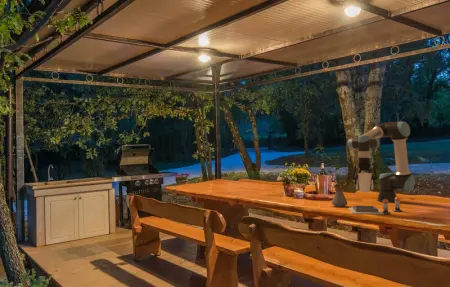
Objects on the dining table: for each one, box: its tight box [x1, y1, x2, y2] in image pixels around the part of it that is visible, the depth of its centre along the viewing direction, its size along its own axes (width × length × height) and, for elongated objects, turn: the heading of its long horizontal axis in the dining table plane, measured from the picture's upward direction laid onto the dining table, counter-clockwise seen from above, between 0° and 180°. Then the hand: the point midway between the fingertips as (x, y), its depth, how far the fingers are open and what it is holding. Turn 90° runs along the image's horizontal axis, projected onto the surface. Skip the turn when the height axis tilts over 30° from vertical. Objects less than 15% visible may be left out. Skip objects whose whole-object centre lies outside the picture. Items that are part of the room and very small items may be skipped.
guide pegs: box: [382, 196, 403, 216], centre depth 258 cm, size 6×20×10 cm, turn 124°
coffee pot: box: [331, 184, 351, 208], centre depth 291 cm, size 21×12×15 cm, turn 134°
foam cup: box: [356, 172, 373, 193], centre depth 263 cm, size 10×9×13 cm
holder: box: [347, 205, 385, 215], centre depth 263 cm, size 20×20×3 cm
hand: (364, 189), depth 263 cm, fingers closed on foam cup, 9 cm apart
